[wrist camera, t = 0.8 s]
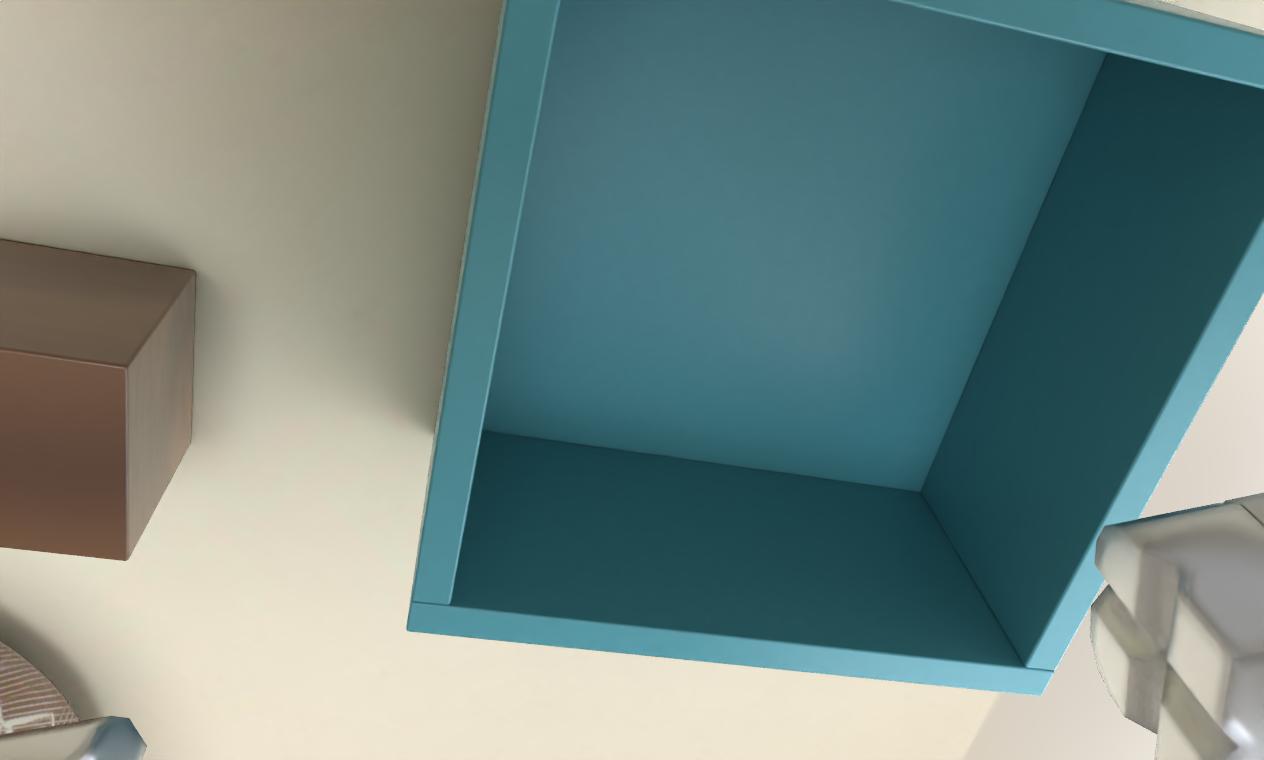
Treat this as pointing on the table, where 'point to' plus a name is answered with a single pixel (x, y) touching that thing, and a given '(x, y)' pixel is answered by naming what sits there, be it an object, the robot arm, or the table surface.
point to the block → (90, 396)
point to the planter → (28, 696)
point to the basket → (833, 324)
